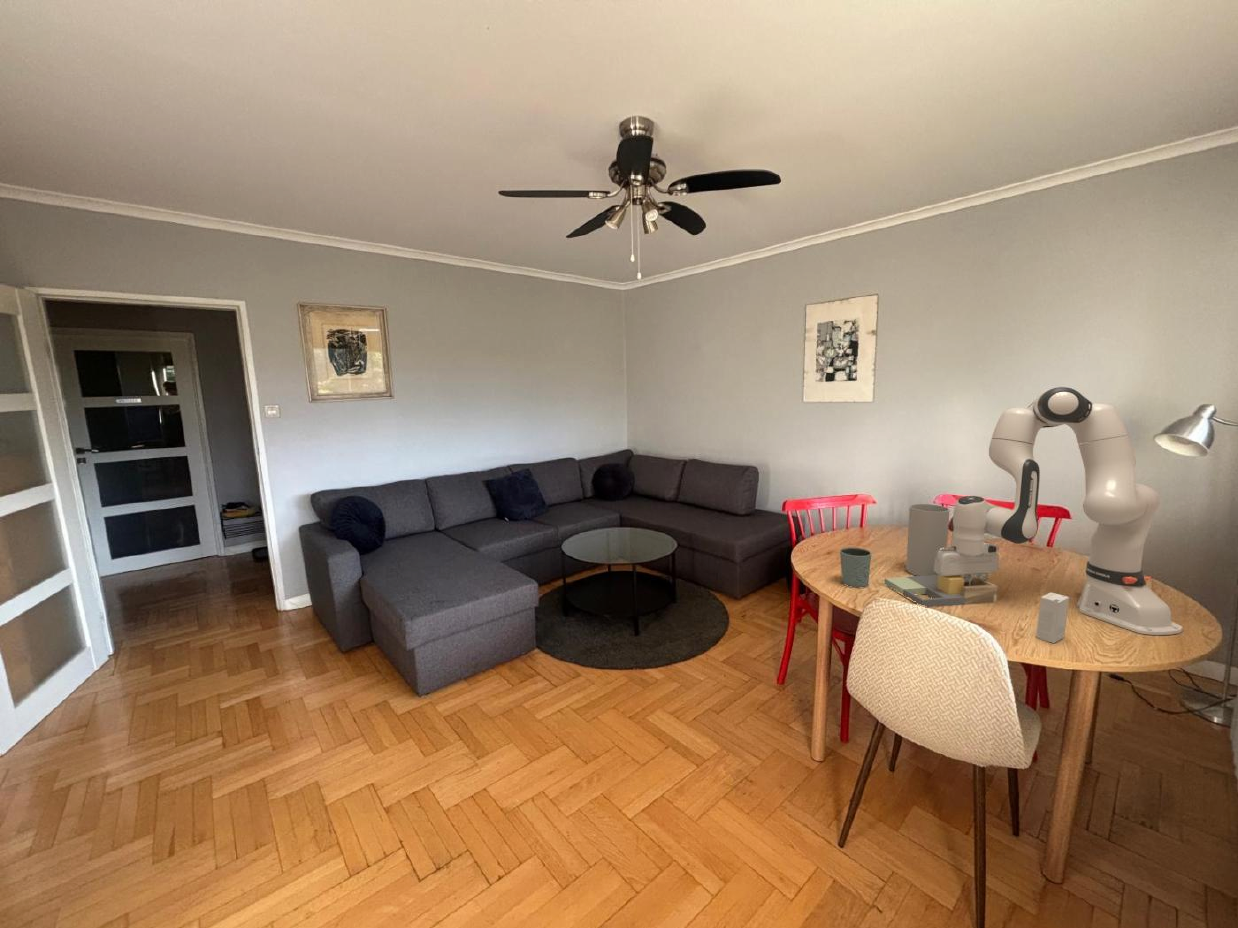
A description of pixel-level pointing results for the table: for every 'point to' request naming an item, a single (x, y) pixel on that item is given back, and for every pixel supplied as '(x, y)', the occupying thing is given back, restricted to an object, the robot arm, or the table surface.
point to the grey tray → (926, 590)
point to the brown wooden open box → (979, 591)
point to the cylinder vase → (926, 537)
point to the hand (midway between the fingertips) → (964, 586)
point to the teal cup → (855, 566)
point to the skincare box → (1052, 617)
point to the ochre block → (950, 584)
